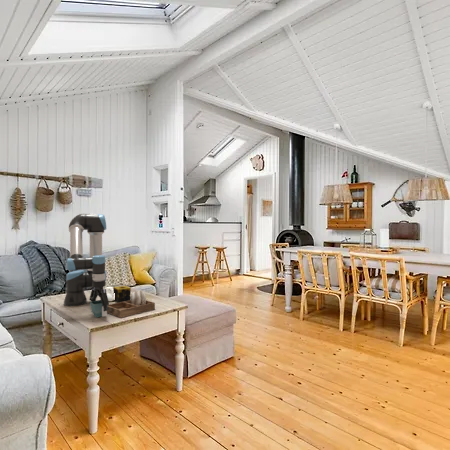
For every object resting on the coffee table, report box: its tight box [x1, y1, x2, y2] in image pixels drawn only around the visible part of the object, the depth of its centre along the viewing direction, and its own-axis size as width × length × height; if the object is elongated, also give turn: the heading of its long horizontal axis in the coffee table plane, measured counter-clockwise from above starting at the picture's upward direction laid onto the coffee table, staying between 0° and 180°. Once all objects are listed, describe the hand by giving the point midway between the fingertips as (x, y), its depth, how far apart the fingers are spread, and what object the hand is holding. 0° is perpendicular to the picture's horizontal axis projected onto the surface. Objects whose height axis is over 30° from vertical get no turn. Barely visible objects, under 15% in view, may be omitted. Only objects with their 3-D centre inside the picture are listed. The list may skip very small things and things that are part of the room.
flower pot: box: [89, 299, 108, 318], centre depth 205 cm, size 9×9×9 cm
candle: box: [112, 285, 132, 303], centre depth 244 cm, size 10×10×10 cm
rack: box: [107, 290, 156, 319], centre depth 217 cm, size 18×26×12 cm
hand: (98, 314), depth 205 cm, fingers open, 13 cm apart
